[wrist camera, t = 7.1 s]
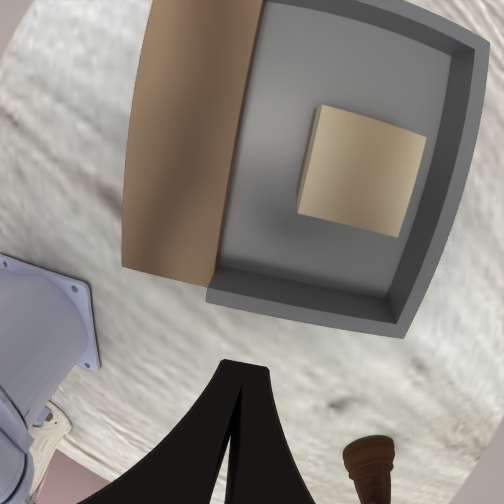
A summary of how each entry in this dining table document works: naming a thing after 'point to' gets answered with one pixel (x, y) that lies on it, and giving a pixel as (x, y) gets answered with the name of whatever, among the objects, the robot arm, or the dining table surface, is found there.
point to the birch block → (358, 171)
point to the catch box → (293, 149)
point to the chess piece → (371, 468)
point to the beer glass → (45, 444)
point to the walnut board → (186, 134)
